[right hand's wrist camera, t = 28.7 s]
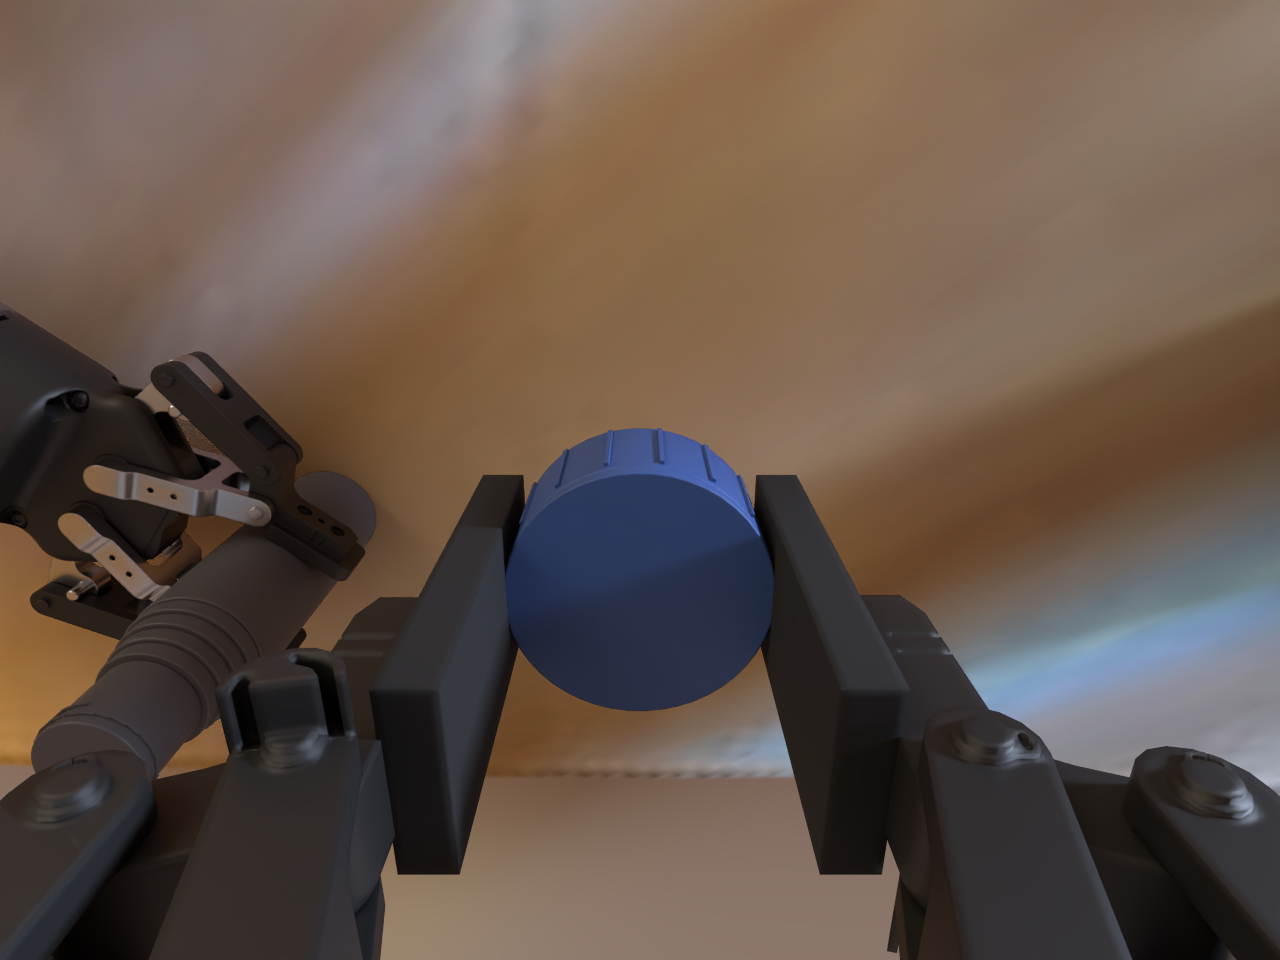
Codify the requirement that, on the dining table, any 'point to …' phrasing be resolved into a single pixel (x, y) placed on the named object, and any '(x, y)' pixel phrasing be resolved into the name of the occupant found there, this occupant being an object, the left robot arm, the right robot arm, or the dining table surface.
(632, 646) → the cap
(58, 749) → the bottle
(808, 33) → the dining table surface
